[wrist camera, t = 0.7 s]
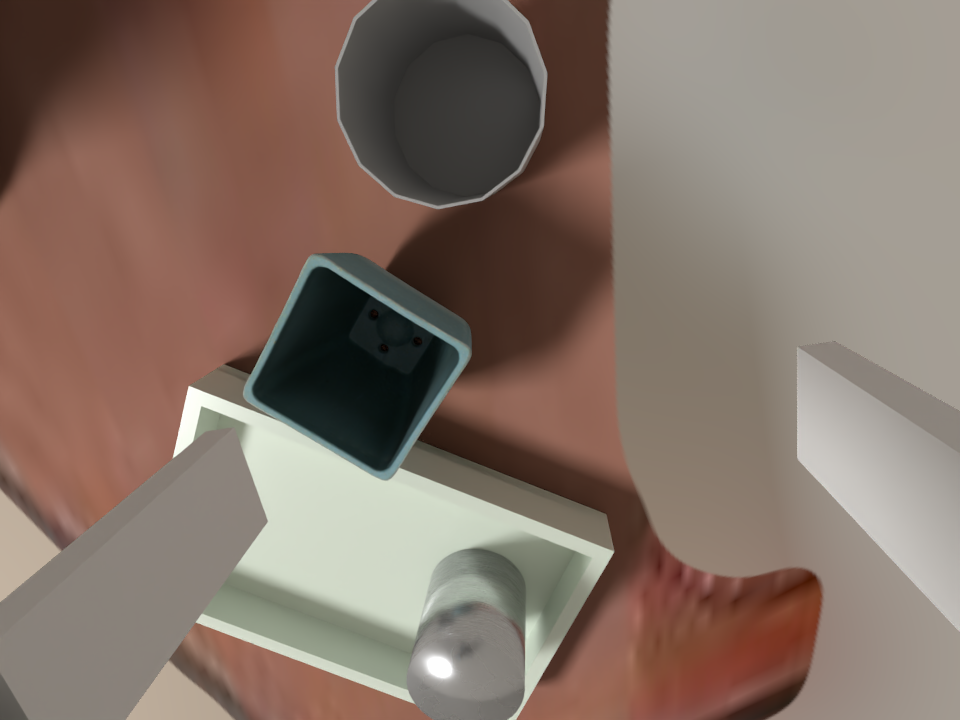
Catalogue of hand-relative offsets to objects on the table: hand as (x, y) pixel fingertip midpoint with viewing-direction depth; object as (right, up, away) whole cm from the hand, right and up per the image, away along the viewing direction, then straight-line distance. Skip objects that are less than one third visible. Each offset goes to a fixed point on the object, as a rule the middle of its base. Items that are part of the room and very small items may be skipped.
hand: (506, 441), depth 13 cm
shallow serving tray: (-8, -11, +28) cm, 31 cm away
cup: (-1, +15, +18) cm, 24 cm away
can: (-1, -15, +27) cm, 31 cm away
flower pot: (-6, +4, +22) cm, 24 cm away
